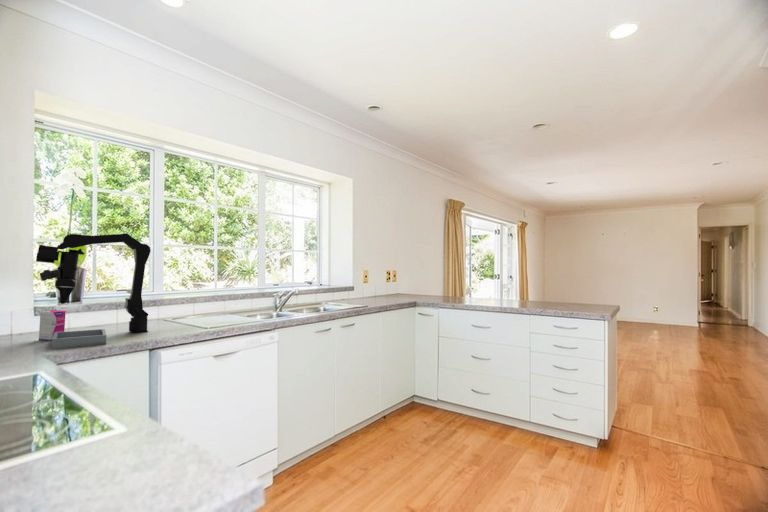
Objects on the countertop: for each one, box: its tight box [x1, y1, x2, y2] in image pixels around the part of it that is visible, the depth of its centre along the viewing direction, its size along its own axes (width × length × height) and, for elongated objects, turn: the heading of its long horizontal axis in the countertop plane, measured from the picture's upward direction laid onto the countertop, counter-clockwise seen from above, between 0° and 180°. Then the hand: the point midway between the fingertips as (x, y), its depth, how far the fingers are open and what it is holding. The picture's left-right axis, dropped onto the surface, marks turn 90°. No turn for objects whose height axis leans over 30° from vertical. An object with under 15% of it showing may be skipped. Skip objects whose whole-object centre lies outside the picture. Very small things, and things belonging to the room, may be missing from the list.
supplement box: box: [38, 309, 67, 342], centre depth 159 cm, size 6×6×12 cm
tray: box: [51, 328, 108, 350], centre depth 154 cm, size 16×16×4 cm
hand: (62, 302), depth 163 cm, fingers open, 9 cm apart
